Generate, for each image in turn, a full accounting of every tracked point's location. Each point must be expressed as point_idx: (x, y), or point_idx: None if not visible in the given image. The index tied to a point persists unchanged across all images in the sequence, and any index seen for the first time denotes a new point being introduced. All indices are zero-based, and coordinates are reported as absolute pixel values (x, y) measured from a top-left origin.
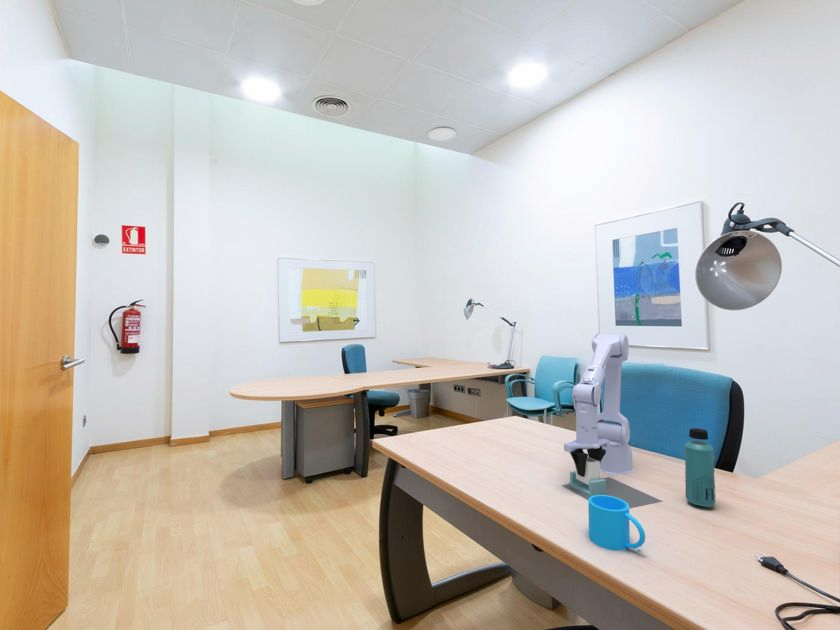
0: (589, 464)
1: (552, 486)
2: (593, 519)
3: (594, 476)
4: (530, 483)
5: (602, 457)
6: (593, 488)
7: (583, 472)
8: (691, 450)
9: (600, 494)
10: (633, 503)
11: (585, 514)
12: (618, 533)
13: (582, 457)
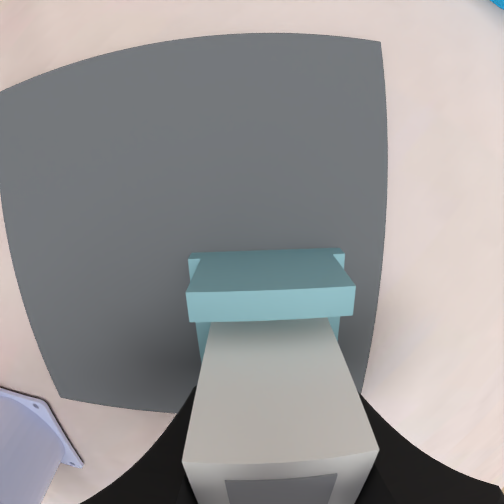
0: (358, 439)
1: (383, 409)
2: None
3: (270, 352)
4: (427, 433)
5: (112, 491)
6: (324, 266)
7: (362, 398)
8: None
9: (252, 251)
10: (140, 83)
11: (478, 109)
12: None
13: (481, 487)
